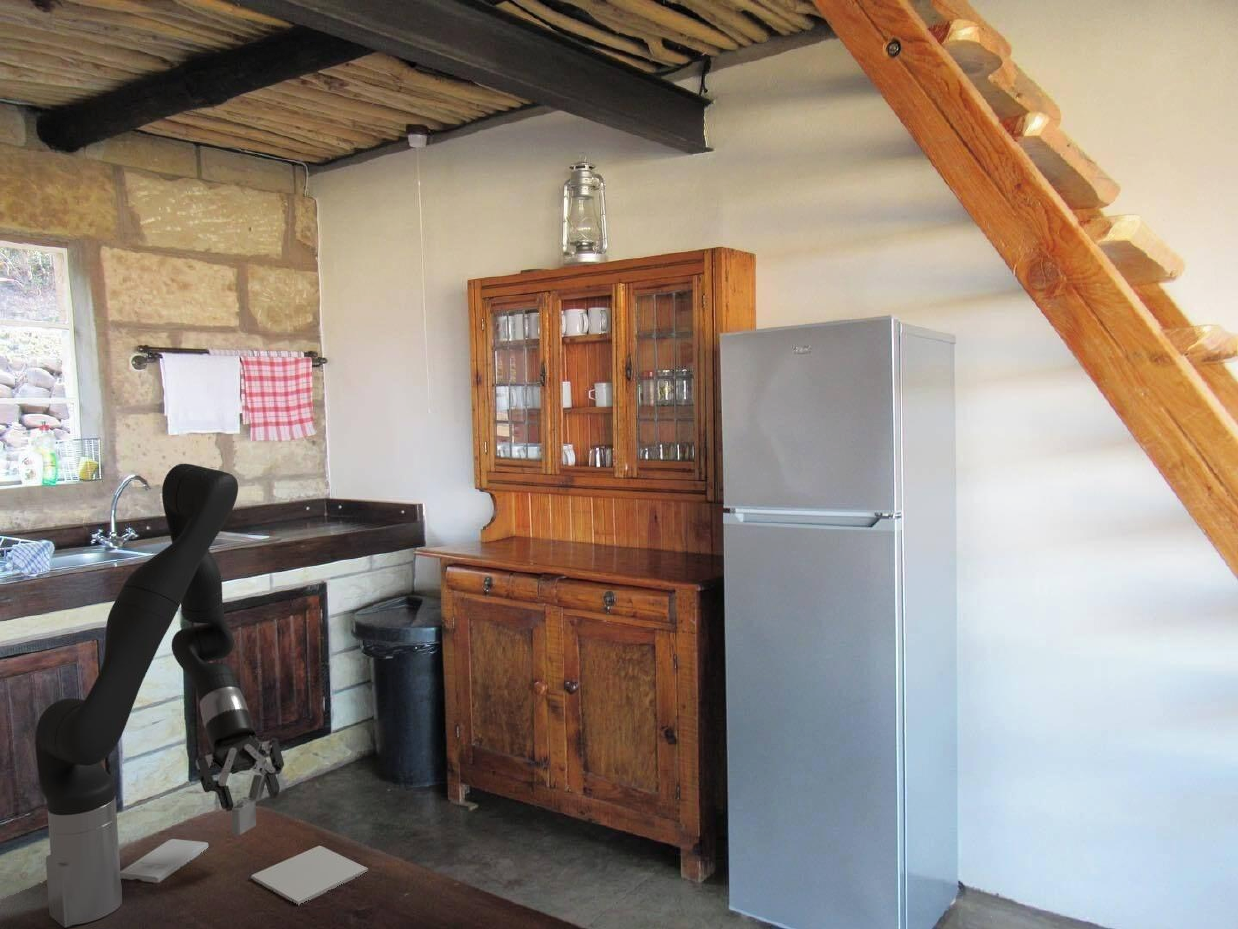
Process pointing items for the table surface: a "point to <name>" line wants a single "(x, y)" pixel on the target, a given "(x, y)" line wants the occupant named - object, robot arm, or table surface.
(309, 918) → the table surface
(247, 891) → the table surface
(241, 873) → the table surface
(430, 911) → the table surface
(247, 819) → the lighter
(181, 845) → the external hard drive
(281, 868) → the mat
